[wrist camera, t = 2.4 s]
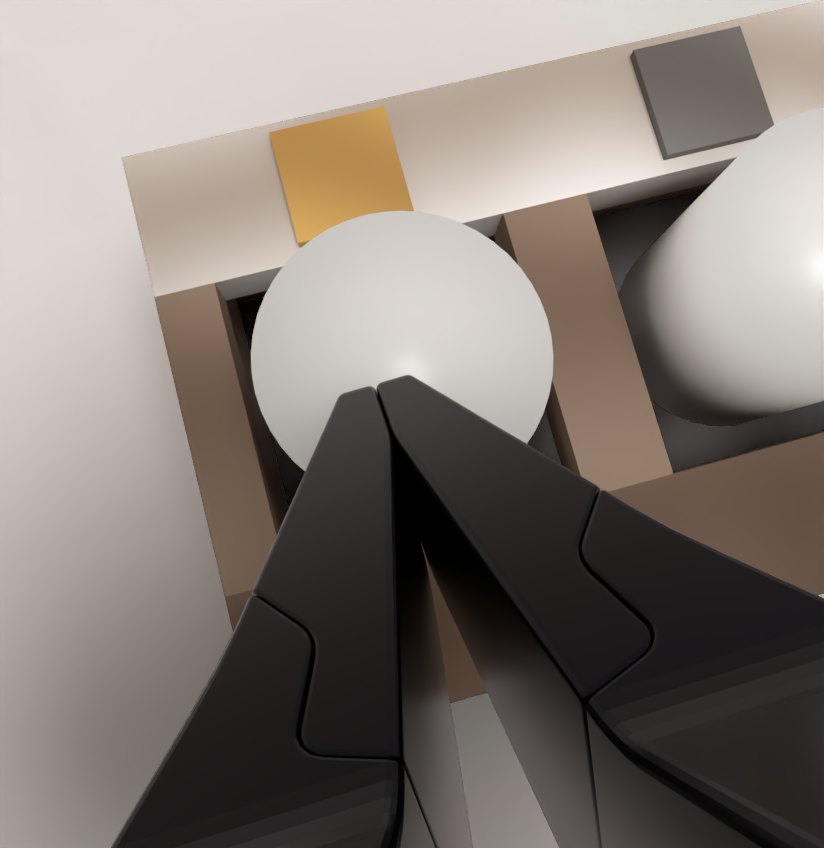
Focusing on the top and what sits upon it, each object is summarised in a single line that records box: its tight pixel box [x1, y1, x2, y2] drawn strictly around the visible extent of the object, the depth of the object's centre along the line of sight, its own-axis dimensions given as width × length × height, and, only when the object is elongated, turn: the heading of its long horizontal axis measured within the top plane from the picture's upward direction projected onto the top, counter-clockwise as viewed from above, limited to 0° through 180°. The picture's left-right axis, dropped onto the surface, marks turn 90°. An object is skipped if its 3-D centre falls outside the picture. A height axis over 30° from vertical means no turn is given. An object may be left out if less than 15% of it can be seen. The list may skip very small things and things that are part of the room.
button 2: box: [251, 211, 553, 471], centre depth 12 cm, size 4×4×4 cm
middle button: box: [618, 108, 824, 426], centre depth 13 cm, size 4×4×4 cm
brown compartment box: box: [122, 0, 824, 703], centre depth 17 cm, size 10×20×7 cm, turn 105°
